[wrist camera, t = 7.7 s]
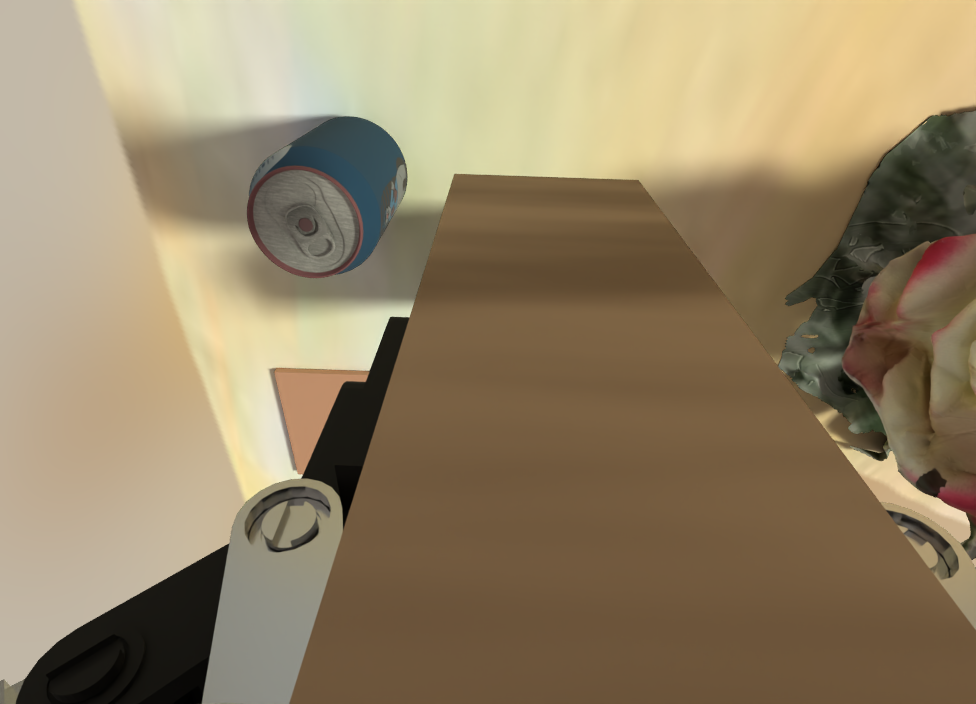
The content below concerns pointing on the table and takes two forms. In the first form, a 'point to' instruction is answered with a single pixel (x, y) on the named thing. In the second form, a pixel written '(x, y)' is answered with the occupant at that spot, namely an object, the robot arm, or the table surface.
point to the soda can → (327, 197)
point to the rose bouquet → (905, 314)
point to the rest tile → (309, 404)
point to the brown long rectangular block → (610, 492)
